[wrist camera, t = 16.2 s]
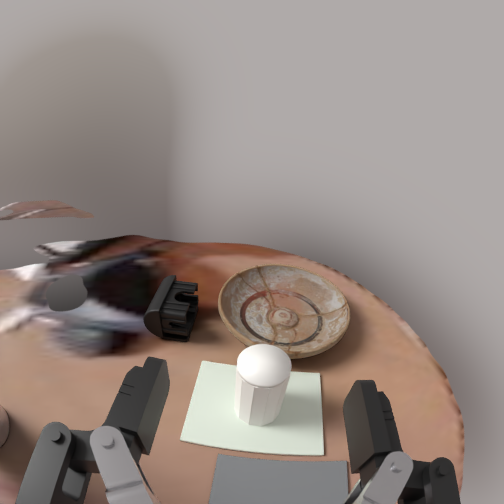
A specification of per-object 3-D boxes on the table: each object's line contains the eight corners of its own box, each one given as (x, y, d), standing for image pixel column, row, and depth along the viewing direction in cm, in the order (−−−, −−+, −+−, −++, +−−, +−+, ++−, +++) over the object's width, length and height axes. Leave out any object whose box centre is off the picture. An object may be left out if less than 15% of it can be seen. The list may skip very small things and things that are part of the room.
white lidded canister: (232, 422, 33) (233, 381, 28) (237, 387, 38) (240, 341, 33) (278, 427, 33) (291, 387, 28) (279, 391, 38) (291, 346, 33)
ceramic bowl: (194, 344, 46) (192, 322, 43) (246, 273, 65) (248, 253, 63) (333, 388, 39) (342, 368, 37) (349, 299, 59) (355, 280, 56)
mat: (202, 538, 18) (201, 538, 18) (218, 454, 29) (218, 453, 29) (347, 542, 18) (348, 542, 17) (345, 461, 28) (346, 460, 28)
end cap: (163, 302, 54) (160, 272, 51) (199, 306, 54) (197, 277, 51) (146, 338, 45) (140, 308, 42) (187, 345, 45) (183, 314, 42)
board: (180, 440, 30) (179, 439, 30) (202, 362, 42) (202, 360, 42) (322, 455, 29) (323, 454, 29) (319, 374, 41) (319, 373, 41)
